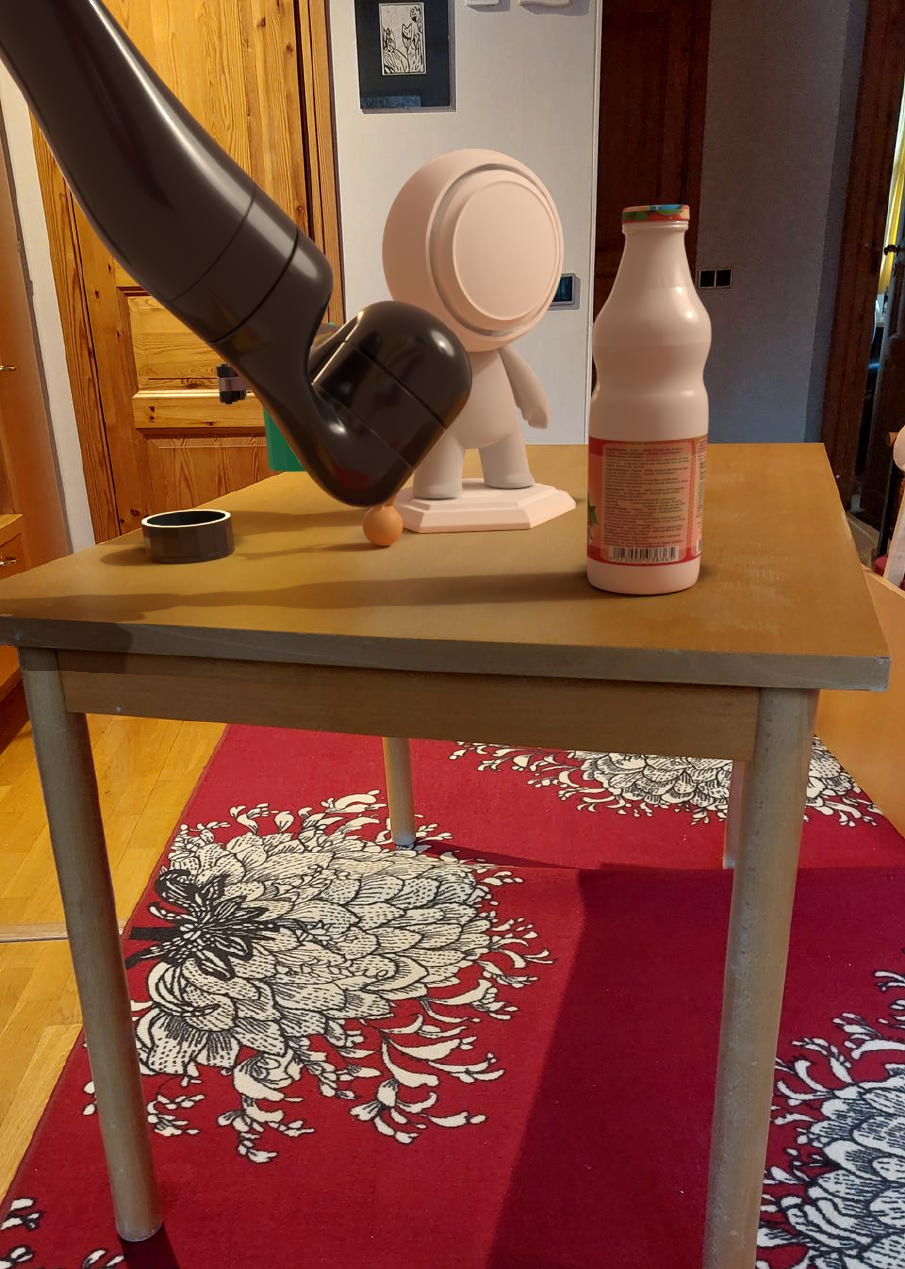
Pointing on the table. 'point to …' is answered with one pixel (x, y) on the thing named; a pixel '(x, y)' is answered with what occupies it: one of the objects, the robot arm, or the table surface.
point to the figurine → (383, 524)
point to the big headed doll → (479, 330)
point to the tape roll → (188, 536)
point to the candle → (279, 448)
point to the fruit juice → (648, 414)
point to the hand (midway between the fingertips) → (293, 371)
